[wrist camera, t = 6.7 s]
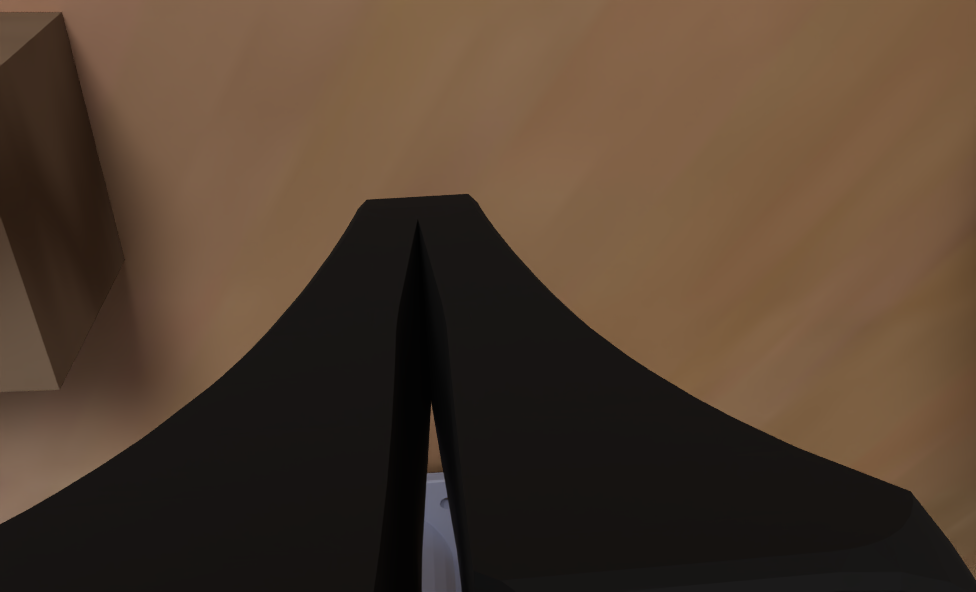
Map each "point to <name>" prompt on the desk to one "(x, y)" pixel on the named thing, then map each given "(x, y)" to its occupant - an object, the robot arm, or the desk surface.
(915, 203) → the desk surface
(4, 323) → the walnut block
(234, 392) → the robot arm
